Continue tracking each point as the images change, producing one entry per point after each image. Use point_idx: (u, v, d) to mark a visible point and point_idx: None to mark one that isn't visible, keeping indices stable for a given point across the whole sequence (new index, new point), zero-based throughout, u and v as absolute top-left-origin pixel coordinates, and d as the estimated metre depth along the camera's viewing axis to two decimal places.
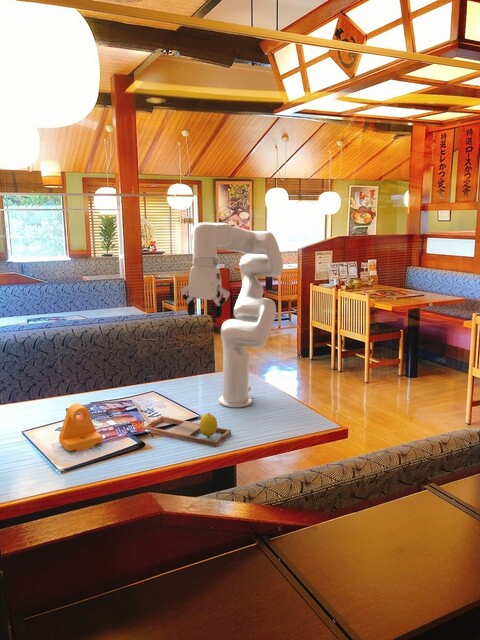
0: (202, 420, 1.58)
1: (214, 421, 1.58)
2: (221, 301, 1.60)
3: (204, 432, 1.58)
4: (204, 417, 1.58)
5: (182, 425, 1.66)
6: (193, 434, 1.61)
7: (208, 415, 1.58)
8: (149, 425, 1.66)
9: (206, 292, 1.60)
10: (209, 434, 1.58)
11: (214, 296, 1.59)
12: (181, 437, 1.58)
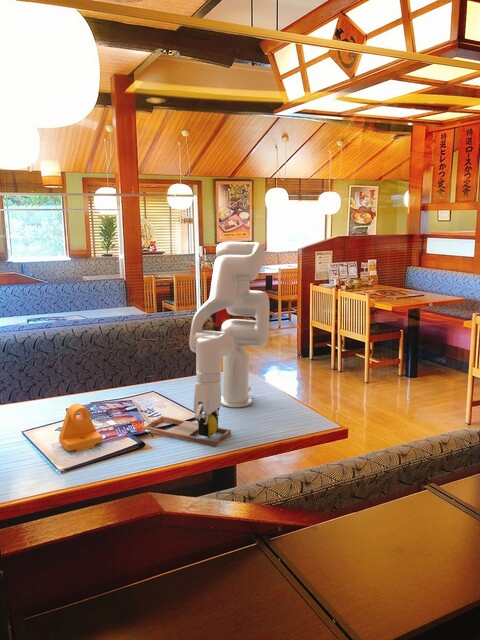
0: None
1: (214, 421, 1.58)
2: (217, 411, 1.63)
3: None
4: (204, 417, 1.58)
5: (182, 425, 1.66)
6: (193, 434, 1.61)
7: (208, 415, 1.58)
8: (149, 425, 1.66)
9: (217, 403, 1.59)
10: (209, 434, 1.58)
11: (220, 404, 1.62)
12: (181, 437, 1.58)
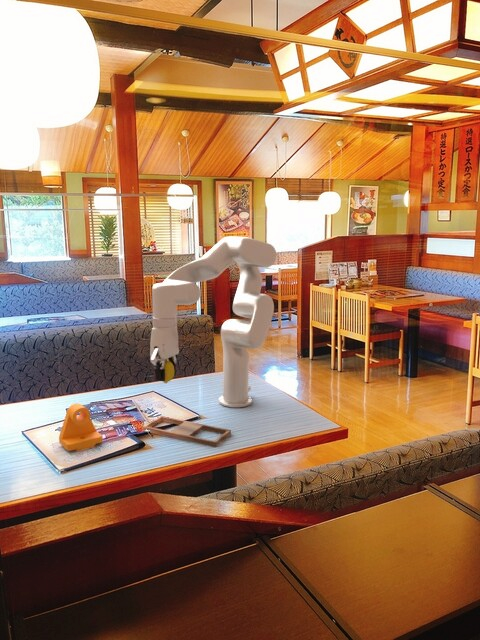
0: None
1: (171, 366, 1.62)
2: None
3: None
4: None
5: (182, 425, 1.66)
6: (193, 434, 1.61)
7: (165, 361, 1.62)
8: (149, 425, 1.66)
9: (174, 349, 1.63)
10: (166, 379, 1.62)
11: (178, 351, 1.65)
12: (181, 437, 1.58)
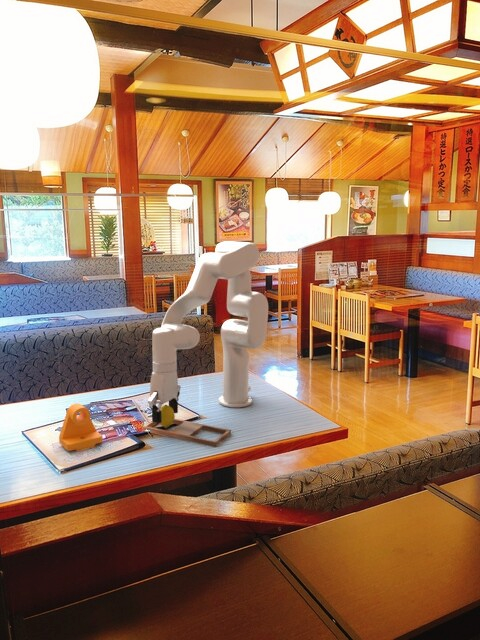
0: None
1: (171, 412, 1.65)
2: (177, 396, 1.71)
3: (161, 423, 1.64)
4: (161, 408, 1.65)
5: (182, 425, 1.66)
6: (193, 434, 1.61)
7: (165, 406, 1.65)
8: (149, 425, 1.66)
9: (174, 392, 1.65)
10: (166, 424, 1.65)
11: (177, 393, 1.68)
12: (181, 437, 1.58)
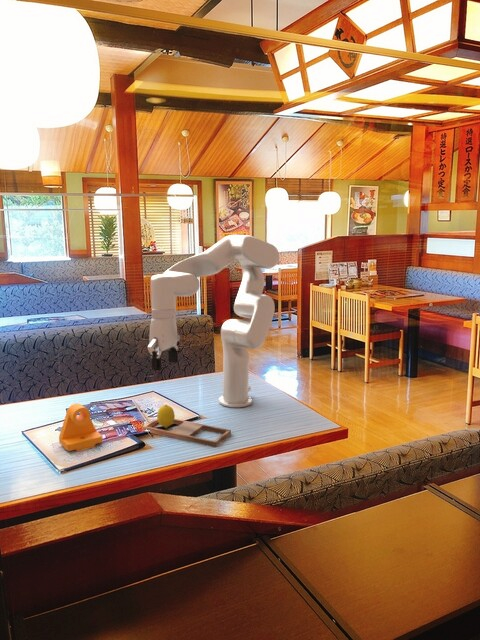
0: (159, 411, 1.65)
1: (171, 412, 1.65)
2: (177, 345, 1.69)
3: (161, 422, 1.64)
4: (161, 408, 1.65)
5: (182, 425, 1.66)
6: (193, 434, 1.61)
7: (165, 406, 1.65)
8: (149, 425, 1.66)
9: (173, 340, 1.64)
10: (166, 424, 1.65)
11: (177, 342, 1.66)
12: (181, 437, 1.58)
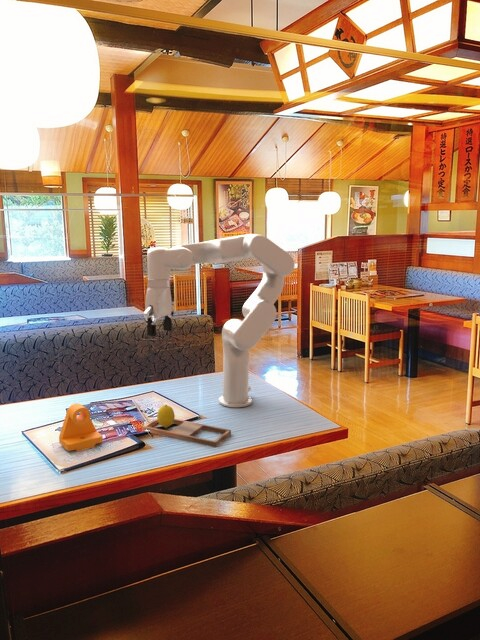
0: (159, 411, 1.65)
1: (171, 412, 1.65)
2: (171, 315, 1.82)
3: (161, 423, 1.64)
4: (161, 408, 1.65)
5: (182, 425, 1.66)
6: (193, 434, 1.61)
7: (165, 406, 1.65)
8: (149, 425, 1.66)
9: (167, 309, 1.77)
10: (166, 425, 1.65)
11: (171, 311, 1.80)
12: (181, 437, 1.58)
